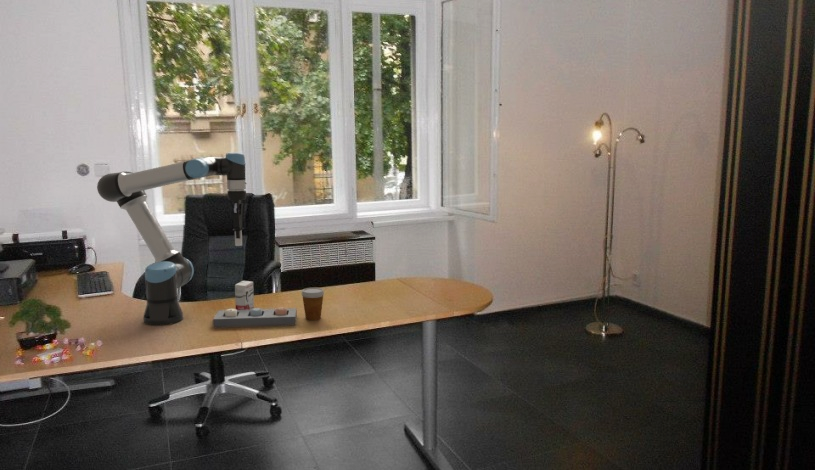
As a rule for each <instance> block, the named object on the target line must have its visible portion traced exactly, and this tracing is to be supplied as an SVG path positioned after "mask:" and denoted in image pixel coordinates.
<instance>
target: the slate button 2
mask: <svg viewBox="0 0 815 470" xmlns="http://www.w3.org/2000/svg"><path fill="white" fill-rule="evenodd" d="M249 310H250V316H262V308H260V307H253V308H251V309H249Z"/></svg>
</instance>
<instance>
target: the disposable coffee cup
mask: <svg viewBox="0 0 815 470" xmlns="http://www.w3.org/2000/svg"><path fill="white" fill-rule="evenodd" d="M324 295H325V291H324V289H323V288H320V287H307V288H303V289H302V290H301V296H302V301H303V310H304V315H305V317H304V318H305V319H306V320H309V321H317V320H320V319H321V317H322V310H323V309H322V308H323V301H324V300H323V299H324Z"/></svg>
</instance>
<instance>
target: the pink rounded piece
mask: <svg viewBox="0 0 815 470" xmlns="http://www.w3.org/2000/svg"><path fill="white" fill-rule="evenodd" d="M274 309H275V315H287V308H286V307H280V306H279V307H276V308H274Z"/></svg>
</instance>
